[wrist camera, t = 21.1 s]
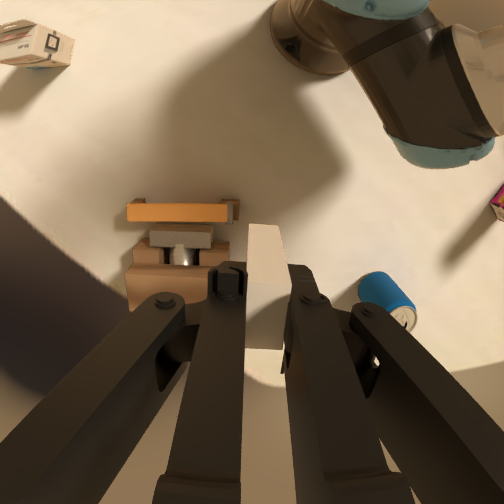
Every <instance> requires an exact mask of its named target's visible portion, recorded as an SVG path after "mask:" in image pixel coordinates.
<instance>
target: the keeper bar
mask: <svg viewBox="0 0 504 504" xmlns="http://www.w3.org/2000/svg"><path fill="white" fill-rule="evenodd" d="M127 221H185V222H225V224H233V202H226V204H204V203H134V204H127Z"/></svg>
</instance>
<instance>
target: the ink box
mask: <svg viewBox="0 0 504 504" xmlns="http://www.w3.org/2000/svg"><path fill="white" fill-rule="evenodd" d="M13 25H15V26H13ZM7 26H12V27H8V28H6V27H7ZM74 42H75V39H73V38H71V37H68V36H66V35H64V34H62V33H59V32H57V31H55V30H53V29H50V28H48V27H46V26H43V25H41V24H38V23H35V22H32V21H30V20H27V19H22V20H18V21H14V22H10V23H7V24H3V25H0V63H1V64H7V65H13V66H19V67H24V68H29V69H39V68H47V67H57V66H67V65H70V62H71V57H72V52H73V47H74Z"/></svg>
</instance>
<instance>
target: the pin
mask: <svg viewBox="0 0 504 504" xmlns="http://www.w3.org/2000/svg"><path fill="white" fill-rule="evenodd" d="M149 238H150V246H153V247H169V259H170V264H175V265H196V252H195V248H204V249H211V246H212V242H213V225H195V224H161V223H156V224H155V225H154V226H153V227H152V228H151V229H150V230H149Z"/></svg>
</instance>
